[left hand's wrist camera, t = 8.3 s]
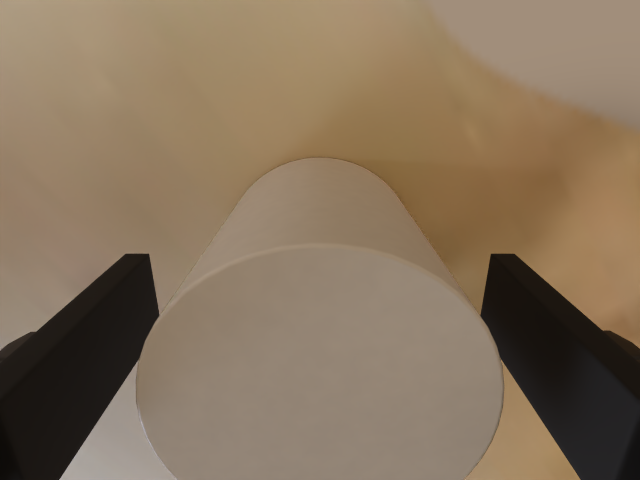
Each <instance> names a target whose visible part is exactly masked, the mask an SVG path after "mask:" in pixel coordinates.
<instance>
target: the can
mask: <svg viewBox="0 0 640 480" xmlns="http://www.w3.org/2000/svg"><path fill="white" fill-rule="evenodd" d="M503 398H504V378H503V368H502V363H501V359H500V356H499V352H498V349H497V346H496V343H495V341H494V339H493V337H492V335H491V333H490V331H489V329H488V327H487V325H486V324H485V322H484V321H483V319H482V318H481V316H480V315H479V314H478V312H477V311H476V309H475V308H474V306H473V305H472V303H471V302H470V301H469V299H468V298H467V296H466V295H465V293H464V292H463V290H462V289H461V288H460V286H459V285H458V283H457V282H456V280H455V279H454V277H453V276H452V275H451V273H450V272H449V270H448V269H447V267H446V266H445V264H444V263H443V262H442V260H441V259H440V257H439V256H438V254H437V253H436V251H435V250H434V249H433V247H432V246H431V244H430V243H429V241H428V240H427V238H426V237H425V236H424V234H423V233H422V231H421V230H420V228H419V227H418V225H417V224H416V223H415V221H414V220H413V218H412V217H411V215H410V214H409V212H408V211H407V210H406V208H405V207H404V205H403V204H402V202H401V201H400V199H399V198H398V197H397V195H396V194H395V192H394V191H393V190H392V189H391V188H390V187H389V186H388V185H387V184H386V183H385V182H384V181H383V180H382V179H380V178H379V177H378V176H377V175H375V174H374V173H372V172H370V171H369V170H367V169H366V168H363V167H361V166H359V165H356V164H354V163H351V162H347V161H344V160H340V159H333V158H306V159H300V160H296V161H292V162H289V163H286V164H284V165H281V166H279V167H276V168H275V169H273V170H271V171H269V172H268V173H266V174H265V175H263V176H262V177H261V178H259V179H258V180H257V181H256V182H255V183H254V184H253V185H252V186H251V187H250V188H249V189H248V190H247V191H246V192H245V194H244V195H243V196H242V198H241V199H240V201H239V202H238V203H237V205H236V206H235V208H234V209H233V211H232V212H231V213H230V215H229V216H228V218H227V219H226V221H225V222H224V224H223V225H222V226H221V228H220V229H219V231H218V232H217V234H216V235H215V237H214V238H213V239H212V241H211V242H210V244H209V245H208V247H207V248H206V249H205V251H204V252H203V254H202V255H201V257H200V258H199V260H198V261H197V262H196V264H195V265H194V267H193V268H192V270H191V271H190V273H189V274H188V275H187V277H186V278H185V280H184V281H183V283H182V284H181V285H180V287H179V288H178V290H177V291H176V293H175V294H174V296H173V297H172V298H171V300H170V301H169V303H168V304H167V306H166V307H165V309H164V310H163V311H162V313H161V314H160V316H159V317H158V319H157V320H156V321H155V323H154V325H153V327H152V329H151V331H150V333H149V335H148V336H147V338H146V340H145V343H144V346H143V349H142V352H141V355H140V358H139V362H138V369H137V376H136V402H137V408H138V413H139V418H140V422H141V425H142V427H143V430H144V433H145V436H146V438H147V440H148V442H149V444H150V445H151V447H152V449H153V451H154V453H155V454H156V456H157V457H158V459H159V460H160V461H161V463H162V464H163V465H164V467H165V468H166V469H167V470H168V471H169V472H170V473H171V475H172V476H173V477H174V478H175V479H176V480H463V479H465V478H466V477H467V476H468V475H469V474H470V473H471V471H472V470H473V469H474V468H475V466H476V465H477V464H478V463H479V461H480V460H481V459H482V457H483V456H484V454H485V452H486V450H487V449H488V447H489V445H490V444H491V442H492V440H493V437H494V435H495V432H496V430H497V427H498V425H499V421H500V417H501V412H502V408H503Z"/></svg>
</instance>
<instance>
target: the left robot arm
mask: <svg viewBox="0 0 640 480" xmlns="http://www.w3.org/2000/svg"><path fill="white" fill-rule="evenodd" d="M158 317H159V310H158V304H157V298H156V292H155V286H154V281H153V275H152V269H151V263H150V257H149V254H125V255H124V256H123V257H121V258H120V259H119V260H118V261H117V262H116V263H115V264H113V265H112V266H111V267H110V268H109V269H108V270H107V271H105V272H104V273H103V274H102V275H101V276H100V277H99V278H97V279H96V280H95V281H94V282H93V283H92V284H91V285H89V286H88V287H87V288H86V289H85V290H84V291H82V292H81V293H80V294H79V295H78V296H77V297H76V298H74V299H73V300H72V301H71V302H70V303H69V304H68V305H66V306H65V307H64V308H63V309H62V310H61V311H60V312H58V313H57V314H56V315H55V316H54V317H53V318H52V319H50V320H49V321H48V322H47V323H46V324H45V325H43V326H42V327H41V328H40V329H39V330H38V331H37V332H30V333H28V334H26V335H24V336H22V337H21V338H19V339H17V340H15V341H13V342H11V343H9V344H8V345H7V346H5V347H4V348H3V349H2V350H1V351H0V480H59V479H60V478H61V476H62V475H63V473H64V472H65V470H66V469H67V467H68V466H69V464H70V463H71V461H72V459H73V458H74V456H75V455H76V453H77V452H78V450H79V449H80V447H81V446H82V444H83V443H84V441H85V440H86V438H87V437H88V435H89V434H90V432H91V431H92V429H93V428H94V426H95V425H96V423H97V422H98V420H99V419H100V417H101V416H102V414H103V413H104V411H105V409H106V408H107V406H108V405H109V403H110V402H111V400H112V399H113V397H114V396H115V394H116V393H117V391H118V390H119V388H120V387H121V385H122V384H123V382H124V381H125V379H126V378H127V376H128V375H129V373H130V372H131V370H132V369H133V367H134V366H135V364H136V363H137V361H138V359H139V358H140V355H141V352H142V349H143V346H144V343H145V340H146V338H147V336H148V335H149V333H150V331H151V329H152V327H153V325H154V323H155V321H156V320H157V319H158ZM481 318H482V319H483V321H484V322H485V324H486V325H487V327H488V329H489V331H490V333H491V335H492V337H493V339H494V341H495V343H496V346H497V349H498V352H499V356H500V358H501V360H502V361H503V363H504V364H505V366H506V367H507V369H508V370H509V372H510V373H511V375H512V376H513V378H514V379H515V381H516V382H517V384H518V385H519V387H520V388H521V390H522V391H523V393H524V394H525V396H526V397H527V399H528V400H529V402H530V403H531V405H532V406H533V408H534V410H535V411H536V413H537V414H538V416H539V417H540V419H541V420H542V422H543V423H544V425H545V426H546V428H547V429H548V431H549V432H550V434H551V435H552V437H553V438H554V440H555V441H556V443H557V444H558V446H559V447H560V449H561V450H562V452H563V453H564V455H565V456H566V458H567V460H568V461H569V463H570V464H571V466H572V467H573V469H574V470H575V472H576V473H577V475H578V476H579V478H580V479H581V480H640V349H639V348H638V347H637V346H636V345H634V344H633V343H632V342H630V341H628V340H626V339H624V338H623V337H621V336H619V335H617V334H615V333H613V332H611V331H602V330H601V329H600V328H599V327H598V326H597V325H595V324H594V323H593V322H592V321H591V320H590V319H588V318H587V317H586V316H585V315H584V314H583V313H582V312H580V311H579V310H578V309H577V308H576V307H575V306H574V305H572V304H571V303H570V302H569V301H568V300H567V299H566V298H564V297H563V296H562V295H561V294H560V293H559V292H558V291H556V290H555V289H554V288H553V287H552V286H551V285H549V284H548V283H547V282H546V281H545V280H544V279H543V278H541V277H540V276H539V275H538V274H537V273H536V272H535V271H533V270H532V269H531V268H530V267H529V266H528V265H527V264H525V263H524V262H523V261H522V260H521V259H520V258H518V257H517V256H516V255H515V254H491V257H490V263H489V269H488V275H487V280H486V286H485V292H484V298H483V304H482V310H481Z"/></svg>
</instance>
